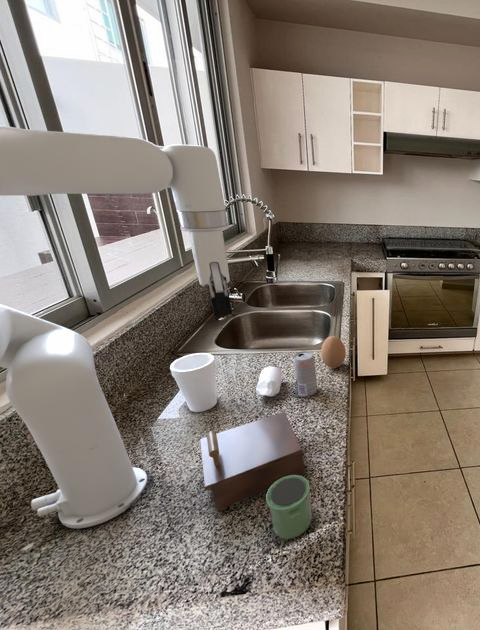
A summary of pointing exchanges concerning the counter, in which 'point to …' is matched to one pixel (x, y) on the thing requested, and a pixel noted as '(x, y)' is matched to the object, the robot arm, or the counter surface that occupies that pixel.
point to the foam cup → (196, 380)
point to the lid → (247, 449)
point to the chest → (256, 481)
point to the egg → (333, 352)
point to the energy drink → (305, 373)
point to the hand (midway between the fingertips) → (223, 313)
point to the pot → (289, 506)
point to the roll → (269, 381)
